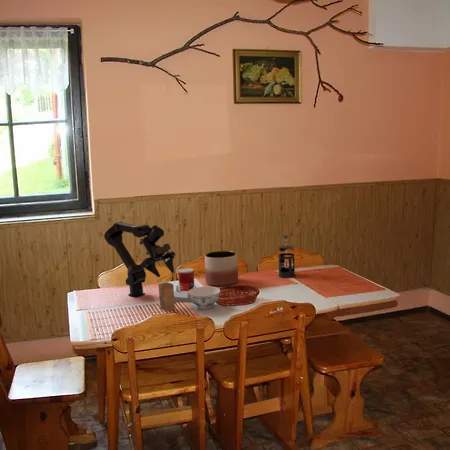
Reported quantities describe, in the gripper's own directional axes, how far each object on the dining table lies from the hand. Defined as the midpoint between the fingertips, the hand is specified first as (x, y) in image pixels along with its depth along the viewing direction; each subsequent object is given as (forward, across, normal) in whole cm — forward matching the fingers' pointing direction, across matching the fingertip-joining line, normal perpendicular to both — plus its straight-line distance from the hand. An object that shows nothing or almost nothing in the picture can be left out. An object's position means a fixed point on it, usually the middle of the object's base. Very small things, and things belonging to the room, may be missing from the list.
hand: (166, 274), depth 268 cm
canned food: (+7, +20, +15) cm, 26 cm away
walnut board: (+15, -6, +4) cm, 17 cm away
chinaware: (+23, +6, -6) cm, 24 cm away
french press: (+24, +71, -7) cm, 76 cm away
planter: (+11, +42, +10) cm, 44 cm away
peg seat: (+12, +10, +8) cm, 17 cm away
